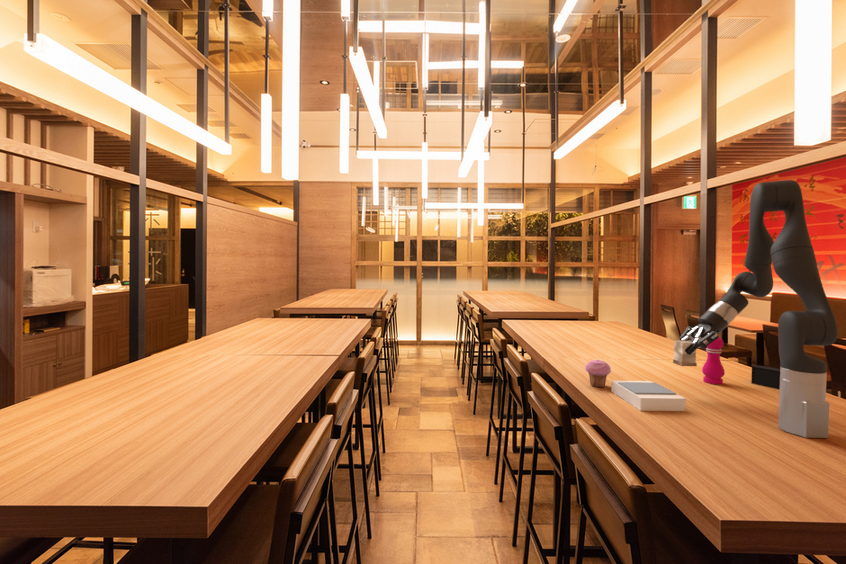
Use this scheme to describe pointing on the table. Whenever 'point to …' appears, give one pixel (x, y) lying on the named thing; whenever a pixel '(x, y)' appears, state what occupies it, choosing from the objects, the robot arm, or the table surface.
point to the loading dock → (648, 396)
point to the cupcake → (598, 372)
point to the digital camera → (766, 376)
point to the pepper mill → (713, 363)
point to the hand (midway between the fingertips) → (682, 351)
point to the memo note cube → (683, 354)
